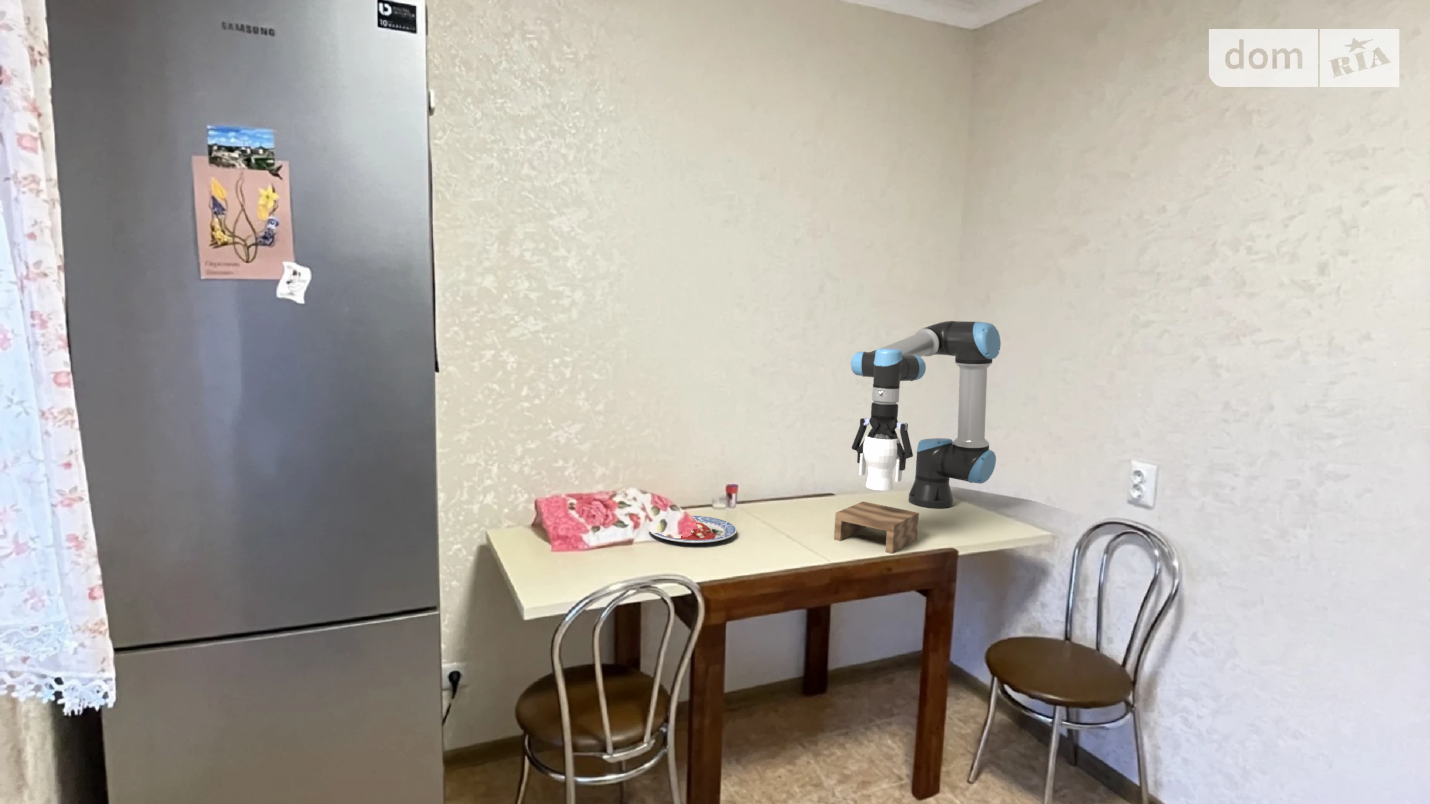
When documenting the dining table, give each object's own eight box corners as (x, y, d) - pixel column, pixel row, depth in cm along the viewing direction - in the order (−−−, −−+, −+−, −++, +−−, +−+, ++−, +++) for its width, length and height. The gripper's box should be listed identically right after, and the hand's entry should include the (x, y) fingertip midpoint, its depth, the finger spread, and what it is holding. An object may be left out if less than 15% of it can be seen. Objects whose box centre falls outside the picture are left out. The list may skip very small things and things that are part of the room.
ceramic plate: (634, 543, 202) (635, 532, 201) (663, 518, 227) (663, 509, 226) (725, 553, 196) (725, 543, 196) (743, 527, 221) (744, 518, 220)
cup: (895, 484, 216) (898, 434, 214) (900, 493, 205) (904, 440, 204) (858, 482, 217) (862, 432, 215) (862, 490, 206) (865, 438, 205)
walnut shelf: (861, 526, 226) (863, 501, 225) (917, 539, 215) (919, 512, 214) (833, 539, 211) (835, 512, 210) (892, 553, 201) (894, 525, 200)
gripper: (842, 399, 212) (838, 473, 215) (918, 407, 198) (912, 486, 201) (854, 397, 218) (849, 469, 221) (928, 405, 204) (923, 482, 207)
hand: (879, 477), depth 211 cm, fingers closed on cup, 11 cm apart
